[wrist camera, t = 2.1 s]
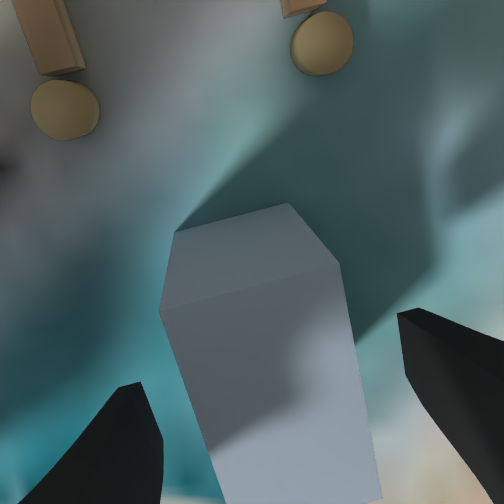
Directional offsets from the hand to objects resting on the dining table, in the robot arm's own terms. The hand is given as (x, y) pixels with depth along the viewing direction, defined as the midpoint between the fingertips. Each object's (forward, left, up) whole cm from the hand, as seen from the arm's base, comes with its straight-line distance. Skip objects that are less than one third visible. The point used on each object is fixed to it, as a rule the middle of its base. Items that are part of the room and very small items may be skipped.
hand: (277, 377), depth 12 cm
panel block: (0, 0, -5) cm, 5 cm away
